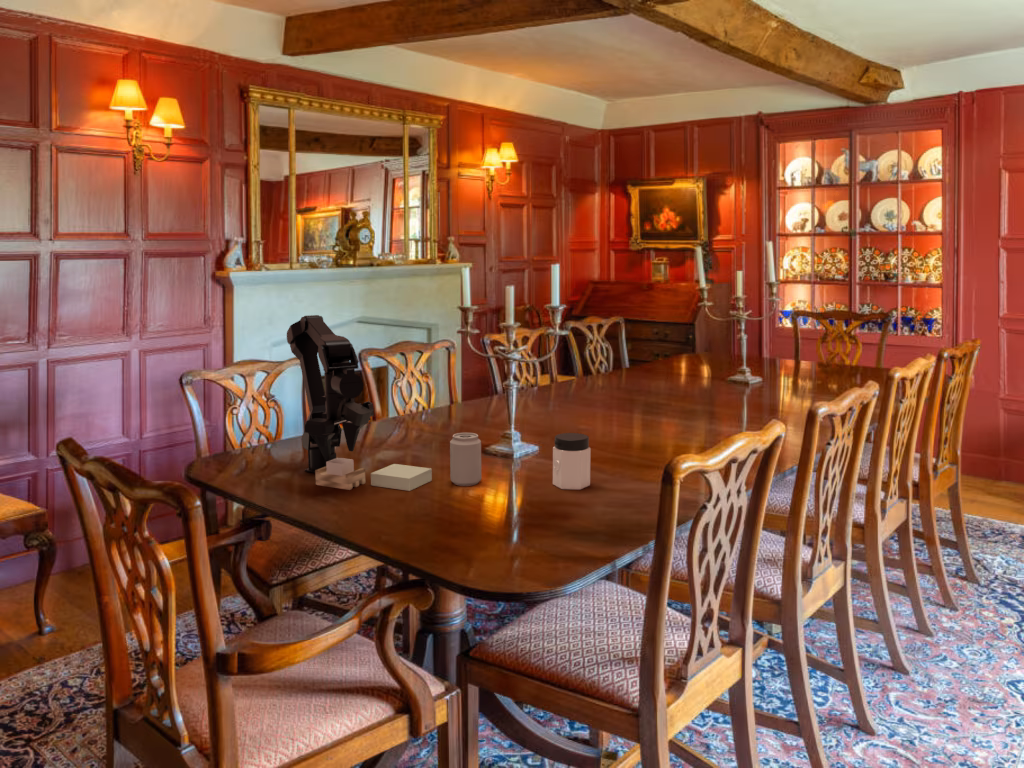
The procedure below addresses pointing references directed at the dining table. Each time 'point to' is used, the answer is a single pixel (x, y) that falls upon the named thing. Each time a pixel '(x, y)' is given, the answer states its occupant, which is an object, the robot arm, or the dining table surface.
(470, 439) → the can
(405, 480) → the dock
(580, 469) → the jar
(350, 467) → the pale pink square block
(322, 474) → the castle tower
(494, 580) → the dining table surface
